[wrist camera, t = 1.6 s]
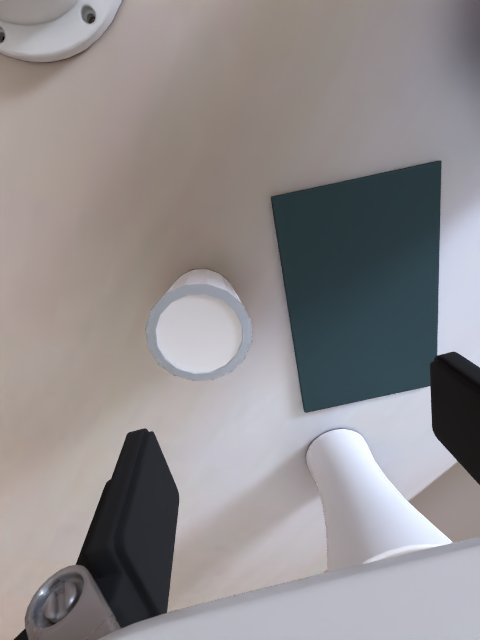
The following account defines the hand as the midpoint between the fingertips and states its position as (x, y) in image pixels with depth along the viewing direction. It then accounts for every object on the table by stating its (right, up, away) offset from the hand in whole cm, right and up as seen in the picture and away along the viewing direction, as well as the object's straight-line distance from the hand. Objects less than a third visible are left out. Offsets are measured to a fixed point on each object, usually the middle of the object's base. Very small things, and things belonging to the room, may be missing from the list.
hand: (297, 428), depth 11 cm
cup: (+8, -10, +24) cm, 28 cm away
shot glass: (-5, +5, +17) cm, 19 cm away
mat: (+9, +5, +18) cm, 21 cm away
